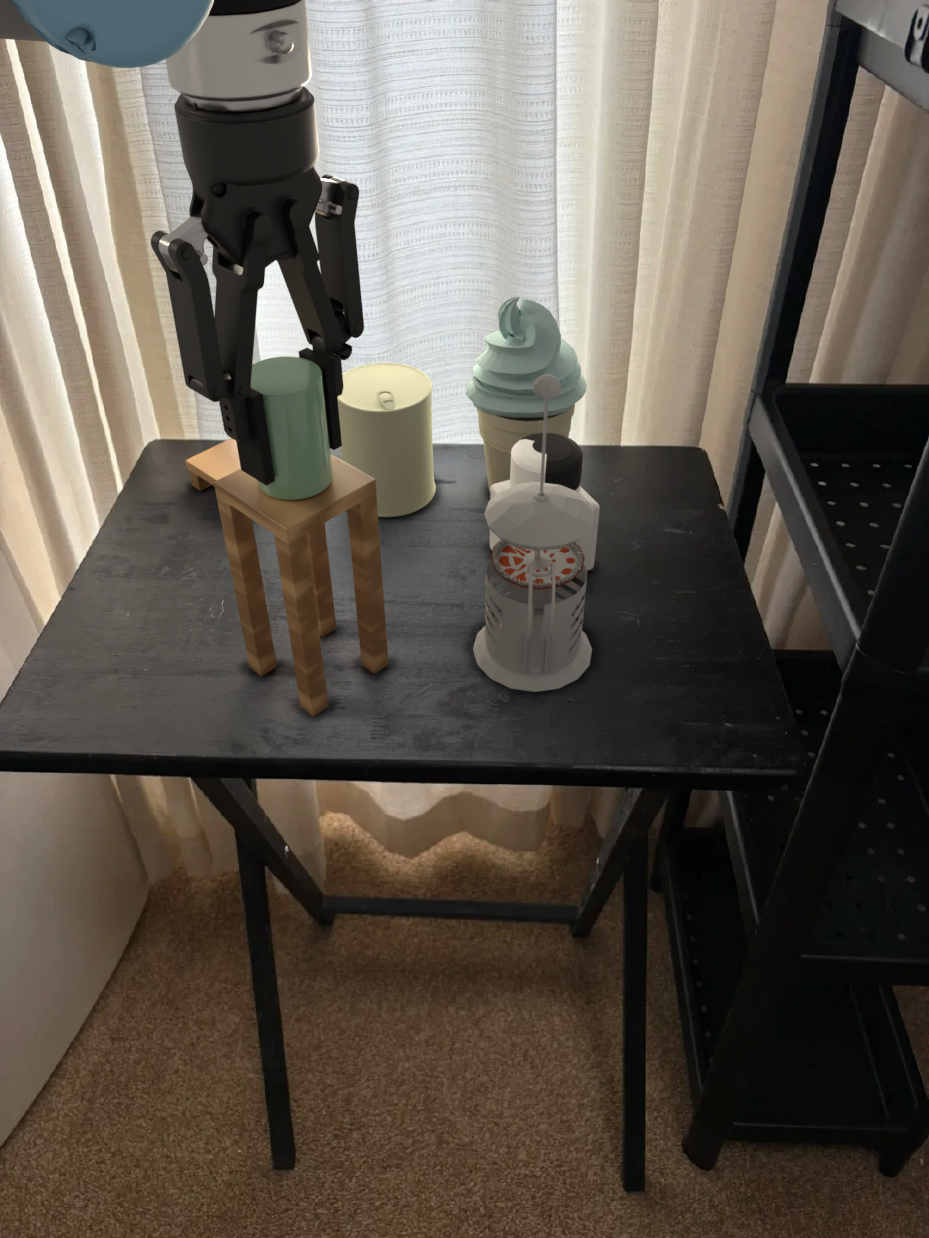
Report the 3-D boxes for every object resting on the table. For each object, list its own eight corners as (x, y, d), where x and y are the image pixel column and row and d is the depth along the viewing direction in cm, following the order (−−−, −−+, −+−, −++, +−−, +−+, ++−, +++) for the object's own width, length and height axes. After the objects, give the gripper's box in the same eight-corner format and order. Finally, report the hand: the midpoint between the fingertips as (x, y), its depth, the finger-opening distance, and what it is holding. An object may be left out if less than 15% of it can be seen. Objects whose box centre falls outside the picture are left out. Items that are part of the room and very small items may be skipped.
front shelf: (313, 717, 81) (286, 529, 69) (249, 667, 85) (213, 481, 73) (389, 664, 85) (376, 479, 73) (324, 619, 89) (302, 437, 77)
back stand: (239, 518, 100) (235, 492, 98) (190, 485, 104) (184, 460, 102) (304, 483, 104) (301, 458, 102) (254, 453, 108) (250, 428, 106)
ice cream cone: (583, 516, 100) (601, 320, 87) (467, 519, 100) (467, 323, 86) (571, 459, 108) (586, 270, 94) (463, 461, 107) (462, 272, 94)
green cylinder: (290, 509, 70) (275, 404, 65) (242, 479, 73) (224, 376, 67) (348, 477, 73) (338, 374, 67) (300, 450, 75) (287, 348, 70)
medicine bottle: (555, 527, 99) (562, 416, 91) (595, 570, 94) (606, 456, 86) (488, 548, 96) (489, 435, 88) (525, 592, 92) (530, 478, 84)
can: (349, 523, 99) (338, 412, 91) (336, 471, 106) (325, 363, 98) (444, 510, 101) (442, 400, 93) (425, 459, 107) (422, 352, 100)
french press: (587, 610, 90) (614, 341, 73) (599, 708, 81) (632, 429, 65) (473, 609, 90) (474, 341, 73) (472, 707, 81) (473, 428, 65)
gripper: (137, 146, 49) (216, 539, 65) (413, 69, 59) (425, 426, 75) (54, 113, 53) (147, 492, 69) (326, 46, 63) (354, 390, 78)
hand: (292, 457), depth 72 cm, fingers closed on green cylinder, 5 cm apart
